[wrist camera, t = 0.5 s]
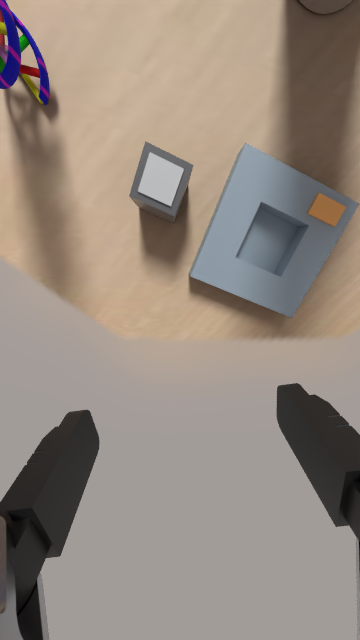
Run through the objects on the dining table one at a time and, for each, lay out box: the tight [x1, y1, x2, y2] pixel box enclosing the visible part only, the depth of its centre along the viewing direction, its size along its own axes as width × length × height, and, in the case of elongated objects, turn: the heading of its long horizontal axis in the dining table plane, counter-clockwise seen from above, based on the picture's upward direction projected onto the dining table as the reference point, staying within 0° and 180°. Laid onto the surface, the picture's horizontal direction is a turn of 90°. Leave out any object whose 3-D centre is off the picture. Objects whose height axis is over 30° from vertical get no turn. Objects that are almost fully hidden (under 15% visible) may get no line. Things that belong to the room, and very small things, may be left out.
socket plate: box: [189, 143, 359, 318], centre depth 29 cm, size 16×16×3 cm
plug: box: [129, 141, 193, 223], centre depth 25 cm, size 5×5×7 cm
